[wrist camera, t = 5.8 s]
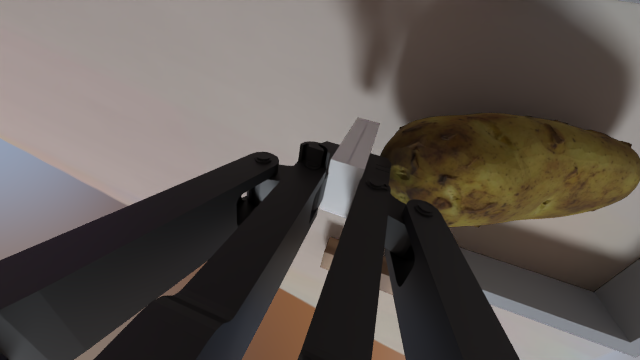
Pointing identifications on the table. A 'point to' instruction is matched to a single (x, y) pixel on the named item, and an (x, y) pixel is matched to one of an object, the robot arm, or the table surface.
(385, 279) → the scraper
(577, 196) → the potato
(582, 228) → the table surface
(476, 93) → the table surface
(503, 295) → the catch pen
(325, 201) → the robot arm
